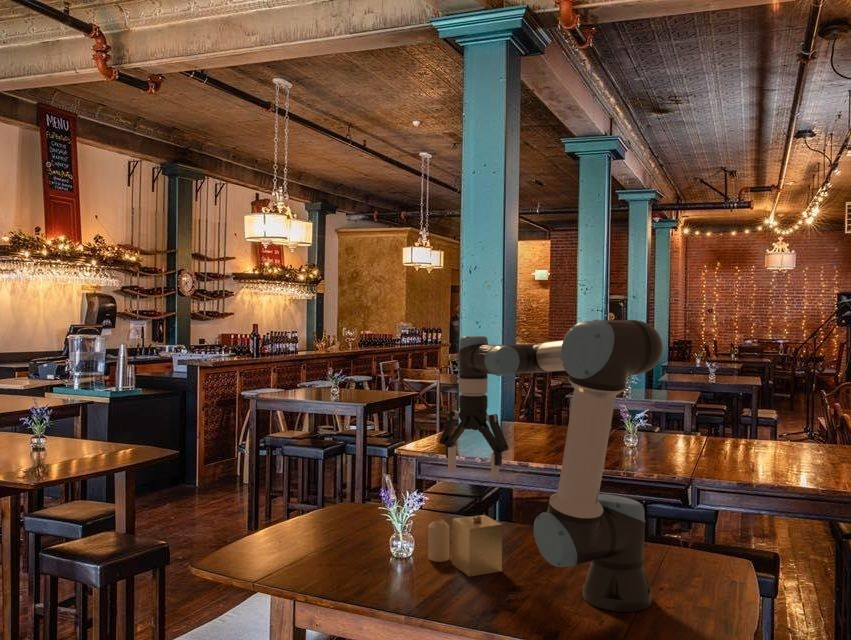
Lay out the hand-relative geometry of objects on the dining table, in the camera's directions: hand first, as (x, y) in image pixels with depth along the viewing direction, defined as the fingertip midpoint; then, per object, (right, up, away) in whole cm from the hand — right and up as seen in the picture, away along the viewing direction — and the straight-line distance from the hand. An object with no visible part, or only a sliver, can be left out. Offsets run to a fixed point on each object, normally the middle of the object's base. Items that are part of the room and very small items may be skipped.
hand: (473, 474), depth 196 cm
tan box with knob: (0, -22, -8) cm, 23 cm away
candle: (-9, -22, -1) cm, 24 cm away
